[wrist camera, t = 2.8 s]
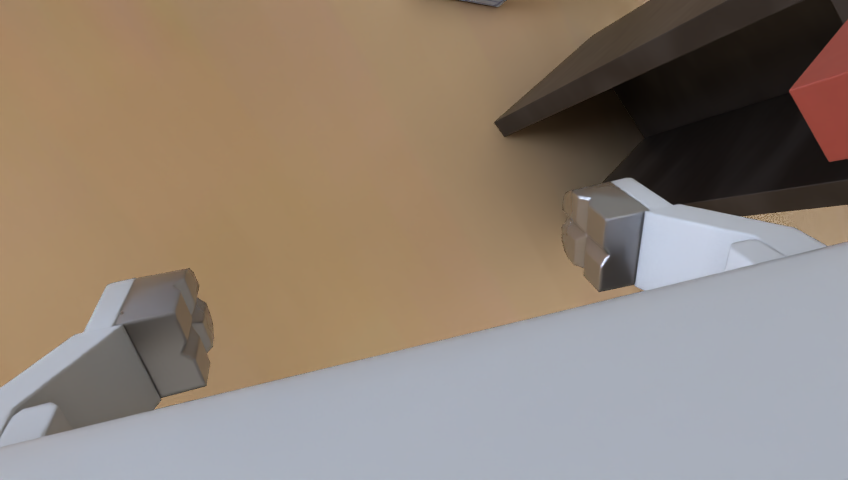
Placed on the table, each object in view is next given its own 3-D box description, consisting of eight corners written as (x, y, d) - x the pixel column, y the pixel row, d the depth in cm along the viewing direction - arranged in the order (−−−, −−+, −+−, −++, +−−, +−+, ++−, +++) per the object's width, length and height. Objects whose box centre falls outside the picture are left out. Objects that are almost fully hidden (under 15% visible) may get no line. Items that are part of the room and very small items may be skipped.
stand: (493, 122, 43) (873, -77, 19) (592, 35, 47) (997, -213, 23) (574, 235, 45) (1001, 188, 21) (661, 141, 50) (1089, 16, 26)
